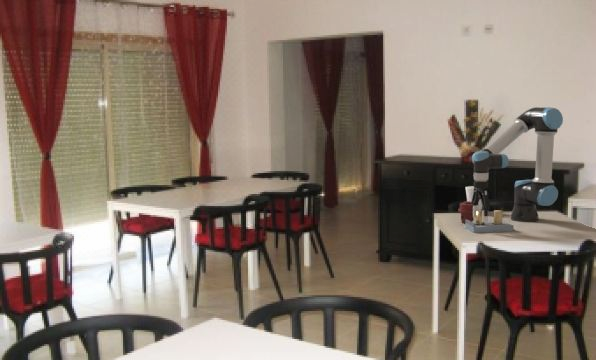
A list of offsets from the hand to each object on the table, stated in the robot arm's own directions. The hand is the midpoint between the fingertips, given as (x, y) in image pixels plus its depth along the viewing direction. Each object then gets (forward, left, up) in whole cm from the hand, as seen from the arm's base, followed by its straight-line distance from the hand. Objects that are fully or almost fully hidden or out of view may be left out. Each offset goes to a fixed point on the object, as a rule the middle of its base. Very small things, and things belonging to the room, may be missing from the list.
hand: (480, 219), depth 337 cm
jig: (-5, 0, -6) cm, 7 cm away
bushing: (0, 0, -6) cm, 6 cm away
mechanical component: (0, -19, -6) cm, 20 cm away
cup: (-16, -48, -6) cm, 51 cm away
